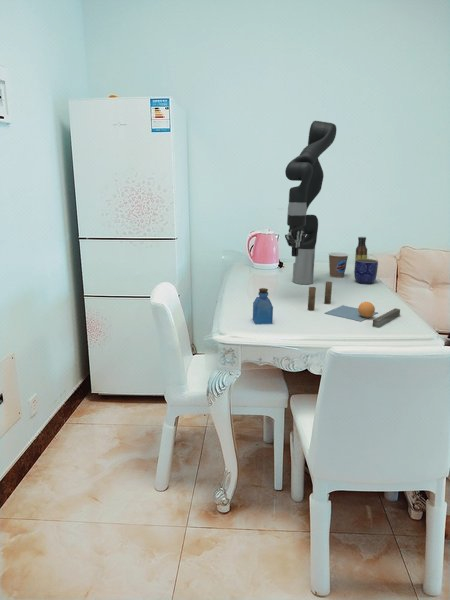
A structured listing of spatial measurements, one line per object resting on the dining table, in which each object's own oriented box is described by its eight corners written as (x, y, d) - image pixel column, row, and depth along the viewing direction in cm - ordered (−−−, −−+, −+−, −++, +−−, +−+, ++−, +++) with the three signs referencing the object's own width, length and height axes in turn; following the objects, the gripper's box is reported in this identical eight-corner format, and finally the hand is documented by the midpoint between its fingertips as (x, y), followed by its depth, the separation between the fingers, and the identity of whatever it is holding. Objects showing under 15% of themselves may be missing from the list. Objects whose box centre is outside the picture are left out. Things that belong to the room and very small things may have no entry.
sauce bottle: (366, 272, 255) (369, 236, 250) (365, 274, 250) (369, 238, 245) (354, 271, 258) (357, 236, 252) (353, 273, 252) (356, 237, 247)
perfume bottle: (252, 319, 170) (253, 287, 167) (269, 318, 171) (270, 287, 168) (255, 324, 164) (256, 291, 161) (272, 323, 165) (273, 291, 162)
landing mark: (324, 313, 178) (324, 312, 178) (342, 305, 189) (342, 305, 189) (360, 321, 168) (360, 321, 168) (378, 313, 179) (378, 312, 179)
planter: (379, 282, 232) (382, 260, 229) (369, 286, 224) (372, 263, 221) (359, 279, 239) (361, 257, 236) (349, 282, 231) (351, 260, 228)
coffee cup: (335, 279, 238) (337, 256, 235) (322, 275, 247) (324, 253, 243) (351, 277, 242) (352, 254, 239) (337, 273, 251) (339, 252, 248)
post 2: (323, 303, 192) (324, 282, 190) (326, 302, 194) (327, 281, 192) (328, 304, 191) (330, 283, 188) (331, 303, 192) (333, 282, 190)
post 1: (306, 309, 183) (307, 287, 180) (309, 308, 185) (311, 286, 182) (312, 310, 181) (313, 288, 179) (315, 309, 183) (317, 287, 181)
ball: (362, 322, 172) (352, 309, 173) (368, 318, 176) (358, 306, 178) (374, 313, 168) (364, 300, 170) (380, 310, 173) (370, 297, 174)
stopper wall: (372, 326, 163) (373, 319, 163) (394, 314, 178) (395, 308, 177) (377, 327, 162) (378, 320, 161) (399, 315, 177) (400, 309, 176)
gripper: (297, 212, 194) (295, 253, 198) (279, 214, 184) (278, 257, 188) (313, 213, 189) (310, 255, 193) (295, 215, 179) (293, 259, 184)
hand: (294, 256), depth 191 cm, fingers closed
